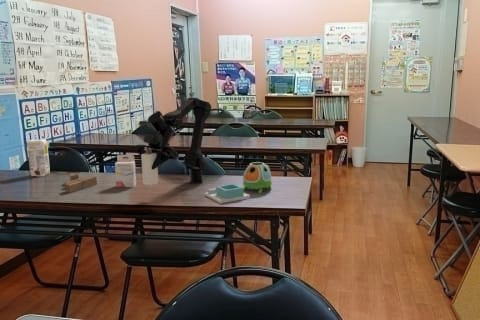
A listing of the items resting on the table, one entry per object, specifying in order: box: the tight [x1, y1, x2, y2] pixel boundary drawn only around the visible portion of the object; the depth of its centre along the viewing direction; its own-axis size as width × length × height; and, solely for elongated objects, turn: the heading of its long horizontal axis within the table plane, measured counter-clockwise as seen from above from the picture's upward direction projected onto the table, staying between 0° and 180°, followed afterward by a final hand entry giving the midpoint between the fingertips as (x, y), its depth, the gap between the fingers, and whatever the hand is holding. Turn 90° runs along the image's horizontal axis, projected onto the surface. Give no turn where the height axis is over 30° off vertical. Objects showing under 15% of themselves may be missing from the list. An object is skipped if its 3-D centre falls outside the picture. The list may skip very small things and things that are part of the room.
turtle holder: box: [242, 161, 273, 194], centre depth 196 cm, size 12×18×12 cm
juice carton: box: [26, 138, 51, 177], centre depth 230 cm, size 8×9×19 cm
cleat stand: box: [204, 183, 251, 204], centre depth 184 cm, size 14×14×5 cm
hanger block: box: [140, 150, 159, 186], centre depth 179 cm, size 4×4×14 cm
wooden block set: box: [63, 172, 98, 194], centre depth 205 cm, size 17×6×18 cm
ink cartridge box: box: [114, 154, 137, 189], centre depth 203 cm, size 9×5×15 cm, turn 92°
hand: (147, 168), depth 178 cm, fingers closed on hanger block, 4 cm apart
